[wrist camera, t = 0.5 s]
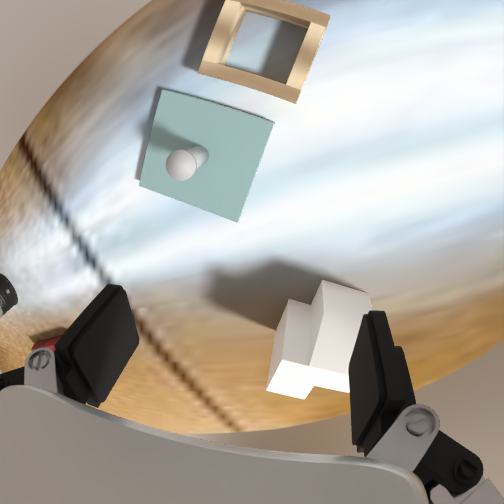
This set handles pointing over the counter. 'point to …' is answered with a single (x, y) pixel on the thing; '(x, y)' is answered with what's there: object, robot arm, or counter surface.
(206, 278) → the counter surface
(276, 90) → the ring
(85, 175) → the counter surface
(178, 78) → the counter surface
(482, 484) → the robot arm
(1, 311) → the milk frother
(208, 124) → the lid with knob
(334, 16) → the counter surface
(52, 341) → the hardcover book
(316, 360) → the corner bracket
